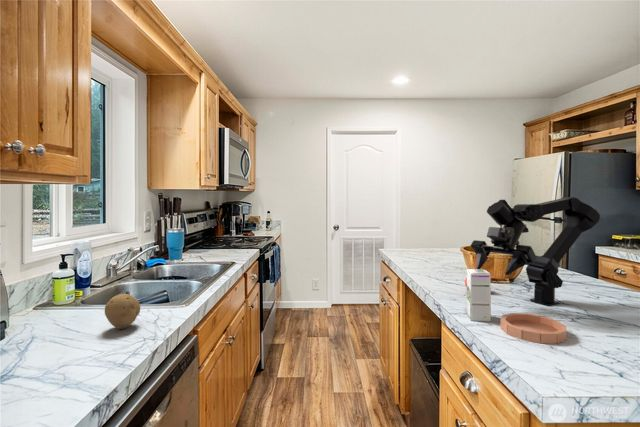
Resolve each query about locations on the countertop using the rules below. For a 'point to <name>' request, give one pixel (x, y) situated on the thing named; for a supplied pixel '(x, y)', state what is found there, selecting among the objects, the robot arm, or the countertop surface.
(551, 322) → the terracotta dish
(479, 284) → the syrup box
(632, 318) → the countertop surface
